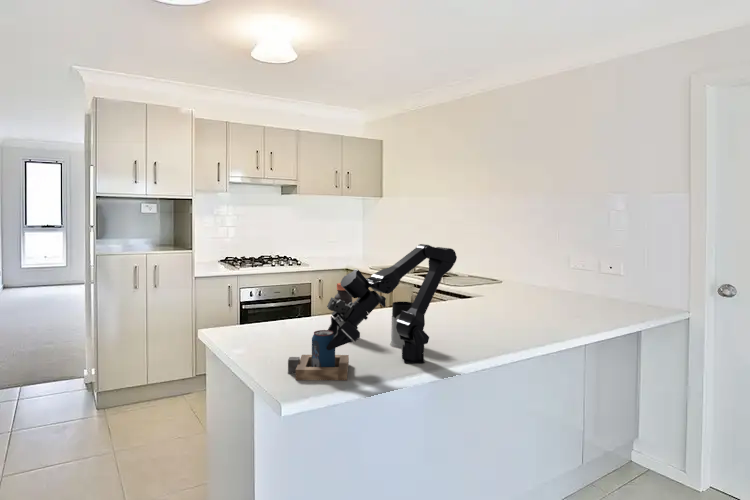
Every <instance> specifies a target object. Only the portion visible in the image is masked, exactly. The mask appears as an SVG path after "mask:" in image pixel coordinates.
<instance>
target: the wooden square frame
mask: <svg viewBox="0 0 750 500" xmlns="http://www.w3.org/2000/svg"><path fill="white" fill-rule="evenodd" d="M349 359H350V358H349V354H348V355H347V354H335V367H312V354H301V356H289V357H288V359H287V373H288V374H295V381H348V373H349V363H350V362H349Z"/></svg>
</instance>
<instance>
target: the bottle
mask: <svg viewBox="0 0 750 500" xmlns="http://www.w3.org/2000/svg"><path fill="white" fill-rule="evenodd" d="M336 291H337V293H336V294H335V295H334V297H333V298H334V299H337V300H342V301H344V302H345V304H347V305H348V304H349V303H350V302H353V297H352V296H351V295H350V294H349V293H348V292H347V291H346V290H345V289H344V288H343V287H342V286H341V282H339V283H336Z"/></svg>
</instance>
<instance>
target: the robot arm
mask: <svg viewBox="0 0 750 500" xmlns="http://www.w3.org/2000/svg"><path fill="white" fill-rule="evenodd" d="M426 259H428V271H427V272H426V275H425V277H424V280H422V283H421V285H420V288H419V290H418V291H417V294H416V296H415V297H414V300H413V302H412V303H413V304H412V306H411V308H410V309H409V310H408V311H407V312H405V311H402V312H401V314H400V317H399V319H398V320H397V321H396V322H398V323H397V325H396V329H397V332H398V334H399V336H400V339H401V340H404V345H402V348H401V359H402V361H403V363H404V364H425V357H424V356H425V345H427V344H428V343H429V340H430V336H429V335H428V334H427V333H426V332H425V330H424V328H425V324H426V323H425V322H426V321H425V314H426V313H427V311H428V308H429V306H430V303H431V302H432V301H433V298H434V296H435V294H436V292H437V289H438V287H439V284H440V283H441V280H442V278H443V276H445V275H446V274H447V273H448V272H449V271H451V269H452V268H453V266H454V265H455V263H456V262H457V253H456V251H455V249H453V248H449V247H442V246H441V247H440V246H437V247H435V246H432V245H429V244H424V243H421V244H420V243H419V244H418V245H416V246H415V248H414V249H412V250H411V251H409V253H407V254H406V255H405V256H403V257H402V258H400V259H399V260H398V261H397V262H395V263H394V264H393V265H391V266H390V267H386V268H384V269H380V270H378V271H377V272H375V273H373V274H372V275H371V276H370V277H366V276H364V275H363V273H362V272H361V271H360V270H359V269H353V270H352V271H351V272H349V273H348V274H346V275H344V276H343V277H342V279H341V280H340V283H341V286H342V287H343V288H344V289H345V290H346V291H347V292H348V293H349V294H350V295H351V296H352V299H355V300H354V301H352V302H350V303H349V304H348V305H347V304H345V302H344V301H342V300H337V299H334V297H330V299H329V301H328V304H327V305H326V308H327V309H328V310H329V311H331V316H330V325H329V326H328V329H327V330H330V331H333V334H334V337H333V339H332V340H331V341H330V343H329V344H328V346H327V347H326V349H327V350H331V349H334V348H335V349H337V348H338V347H342V346H343V345H347V344H349V343H353V342H355V343H356V342H357V341H358V340H359V339H360V337H361V332H360V331H359V327H358V325H360V324H361V323H362V322H363V321H367V320H368V319H369V317H368V316H369V315H370V313H372V312H373V310H375V308H377V307H378V305H381V307H383V308H386V300H387V298H386V297H385V296H384V295H380V294H379V293H382V294H386V295H388V294H391V293H392V292H393V291H394V290H395V289H396V288H397V287H399V284H400V281H401V279H402V278H403V277H404V276H405V275H407V274H409V273H410V272H411V271H413V270H414V269H415V268H417V266H419V265H420V264H421V263H422V262H423V261H425V260H426ZM369 288H371V289H369Z"/></svg>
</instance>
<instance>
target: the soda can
mask: <svg viewBox="0 0 750 500" xmlns="http://www.w3.org/2000/svg"><path fill="white" fill-rule="evenodd" d="M333 337H334V334H333V331H330V330H328V329H326V330H325V329H321V330H315V331H314V332H313V335H312V337H311V355H312V367H335V355H336V348H334V349H331V350H327V349H326V347H327V346H328V344H329V343H330V341H331V340H332V339H333Z"/></svg>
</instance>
